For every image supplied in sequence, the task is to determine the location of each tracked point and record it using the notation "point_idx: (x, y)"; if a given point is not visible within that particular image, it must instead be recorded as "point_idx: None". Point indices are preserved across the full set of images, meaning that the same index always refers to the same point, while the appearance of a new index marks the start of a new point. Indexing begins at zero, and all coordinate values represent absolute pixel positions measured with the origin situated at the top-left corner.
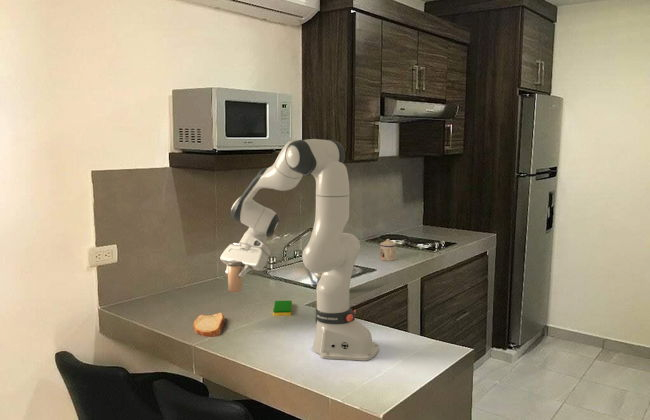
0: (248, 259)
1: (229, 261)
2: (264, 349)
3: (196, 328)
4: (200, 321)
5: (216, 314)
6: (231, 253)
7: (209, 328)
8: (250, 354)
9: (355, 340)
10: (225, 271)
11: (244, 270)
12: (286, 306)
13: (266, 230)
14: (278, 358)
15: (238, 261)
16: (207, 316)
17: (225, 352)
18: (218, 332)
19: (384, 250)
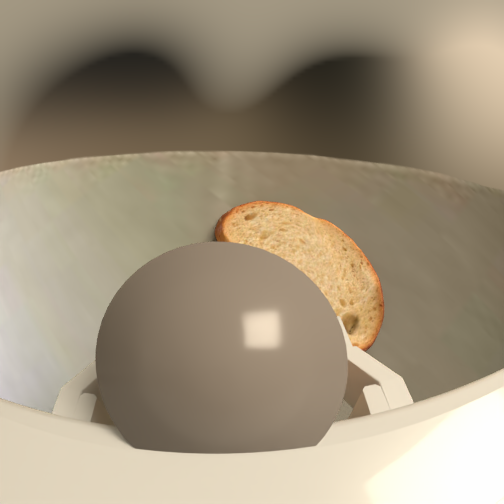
0: (30, 475)
1: (316, 338)
2: (42, 242)
3: (297, 208)
4: (339, 255)
5: (355, 342)
6: (471, 497)
7: (260, 231)
8: (55, 200)
9: None
10: (338, 319)
11: (86, 373)
12: None
13: None
14: (3, 225)
15: (183, 432)
16: (362, 304)
17: (111, 169)
18: (219, 238)
19: None
